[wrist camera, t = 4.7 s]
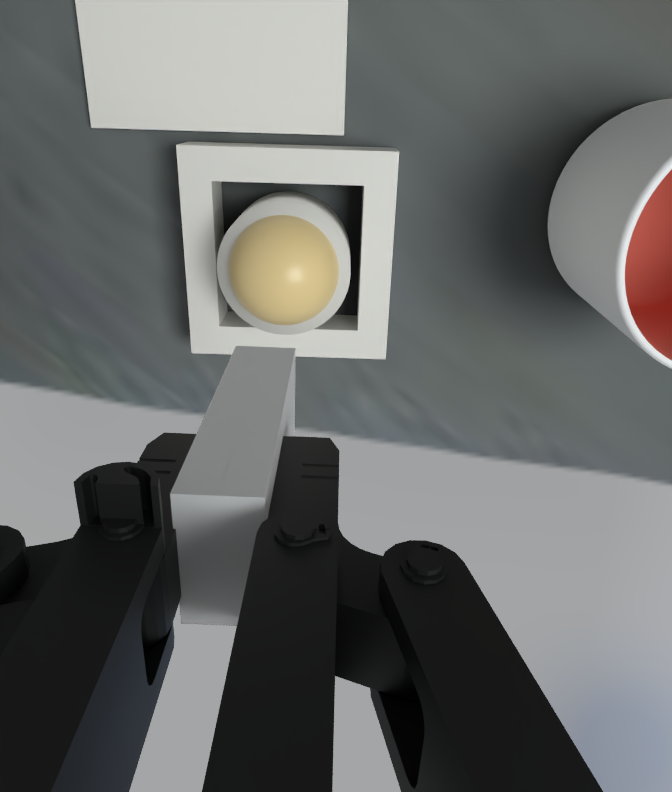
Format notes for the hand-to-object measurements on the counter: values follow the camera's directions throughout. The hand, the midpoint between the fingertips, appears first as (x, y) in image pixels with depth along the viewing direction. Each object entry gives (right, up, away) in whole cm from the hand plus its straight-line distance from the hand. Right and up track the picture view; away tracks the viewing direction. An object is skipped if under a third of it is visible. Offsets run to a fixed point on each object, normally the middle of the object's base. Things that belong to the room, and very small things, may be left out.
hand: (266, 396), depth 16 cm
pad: (-4, +18, +12) cm, 22 cm away
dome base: (0, +8, +16) cm, 18 cm away
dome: (-1, +7, +15) cm, 17 cm away
